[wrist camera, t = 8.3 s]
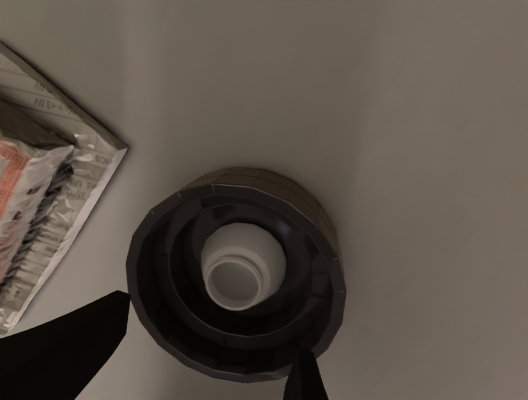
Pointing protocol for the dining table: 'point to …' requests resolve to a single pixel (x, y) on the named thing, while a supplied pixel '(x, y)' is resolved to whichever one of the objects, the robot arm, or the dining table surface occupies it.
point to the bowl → (255, 317)
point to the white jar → (242, 265)
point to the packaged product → (43, 179)
